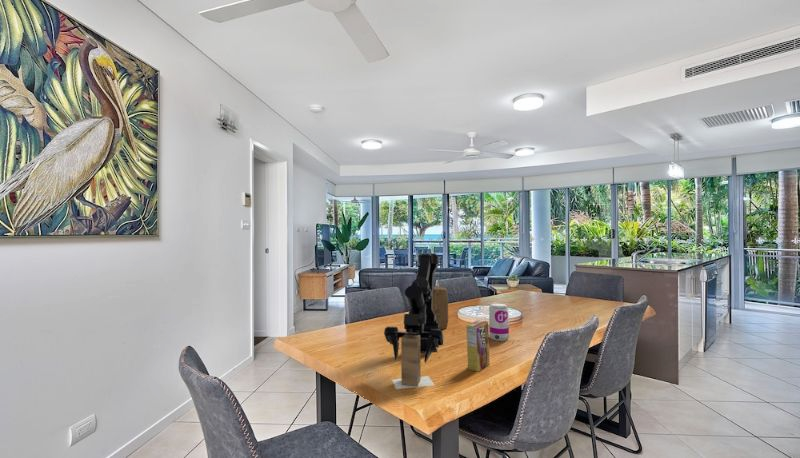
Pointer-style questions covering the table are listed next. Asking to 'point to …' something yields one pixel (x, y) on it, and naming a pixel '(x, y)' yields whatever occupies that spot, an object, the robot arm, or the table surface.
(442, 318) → the block
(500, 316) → the supplement can
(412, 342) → the walnut block
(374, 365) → the table surface
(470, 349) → the candy box
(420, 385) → the tile
